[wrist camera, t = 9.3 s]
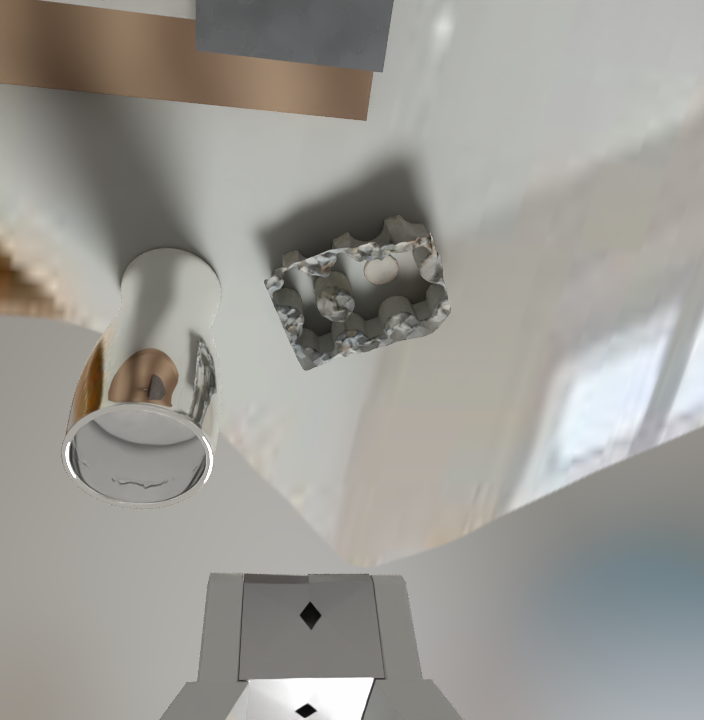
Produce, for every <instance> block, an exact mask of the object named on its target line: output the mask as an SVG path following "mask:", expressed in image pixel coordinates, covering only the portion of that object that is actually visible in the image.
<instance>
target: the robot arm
mask: <svg viewBox="0 0 704 720" xmlns="http://www.w3.org/2000/svg"><path fill="white" fill-rule="evenodd" d="M160 720H464V718H463V717H462V716H461V715H460V714H459V712H458V711H457V710H456V709H455V707H454V706H453V705H452V703H451V702H450V701H449V700H448V698H447V697H446V696H445V695H444V693H443V692H442V691H441V690H440V688H439V687H438V686H437V685H436V683H435V682H434V681H433V680H432V679H423V678H422V672H421V667H420V661H419V656H418V650H417V644H416V638H415V633H414V627H413V621H412V615H411V610H410V604H409V598H408V593H407V587H406V582H405V580H404V579H403V577H402V576H401V575H369V574H308V575H289V574H244V584H243V573H210V577H209V581H208V587H207V595H206V604H205V615H204V624H203V633H202V642H201V651H200V661H199V670H198V680H197V682H187V683H186V684H185V686H184V687H183V688H182V690H181V691H180V693H179V694H178V695H177V697H176V698H175V699H174V701H173V702H172V703H171V705H170V706H169V707H168V709H167V710H166V712H165V713H164V714H163V716H162V717H161V718H160Z"/></svg>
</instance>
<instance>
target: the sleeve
mask: <svg viewBox="0 0 704 720" xmlns="http://www.w3.org/2000/svg"><path fill="white" fill-rule="evenodd" d="M393 1H394V0H196V51H203V52H212V53H220V54H229V55H237V56H246V57H254V58H263V59H272V60H280V61H289V62H297V63H306V64H314V65H323V66H332V67H340V68H349V69H357V70H366V71H374V72H383V67H384V60H385V54H386V47H387V41H388V34H389V27H390V21H391V14H392V8H393Z"/></svg>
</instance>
